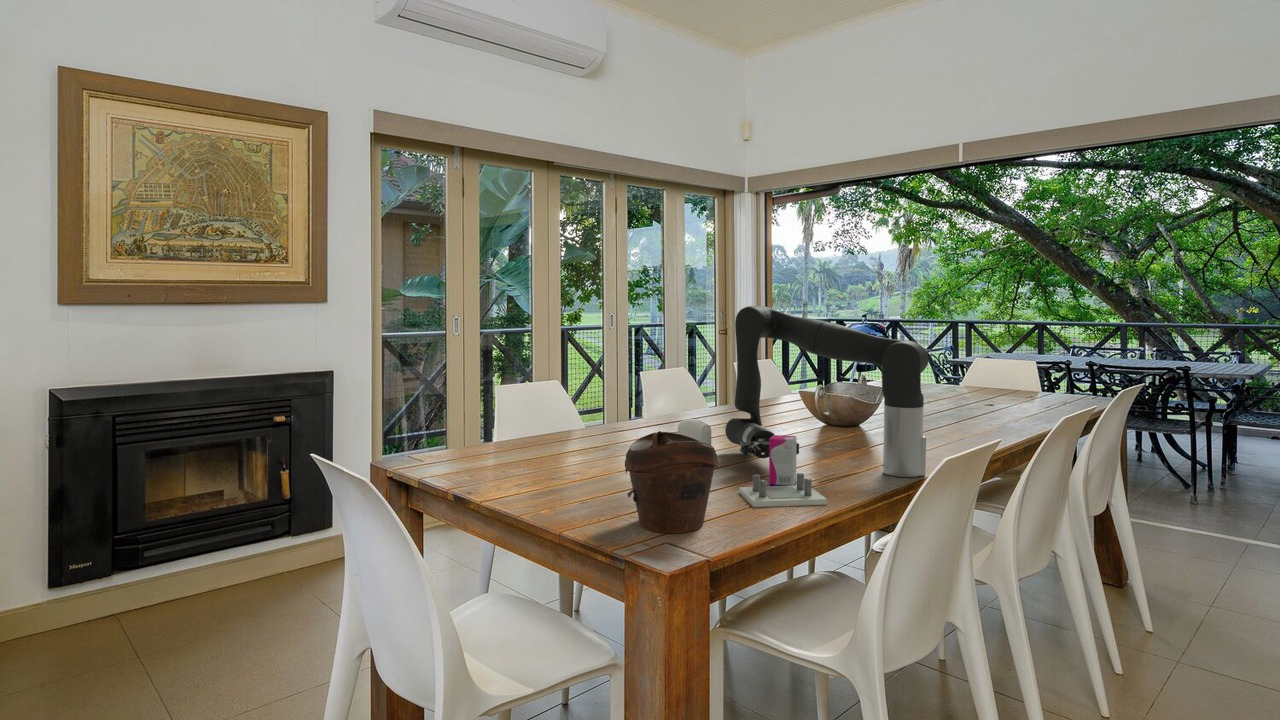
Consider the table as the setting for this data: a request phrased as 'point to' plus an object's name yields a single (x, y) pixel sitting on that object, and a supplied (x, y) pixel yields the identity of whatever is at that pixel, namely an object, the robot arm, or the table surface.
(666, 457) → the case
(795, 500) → the grey peg board
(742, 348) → the robot arm
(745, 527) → the table surface
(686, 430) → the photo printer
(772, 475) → the supplement box
